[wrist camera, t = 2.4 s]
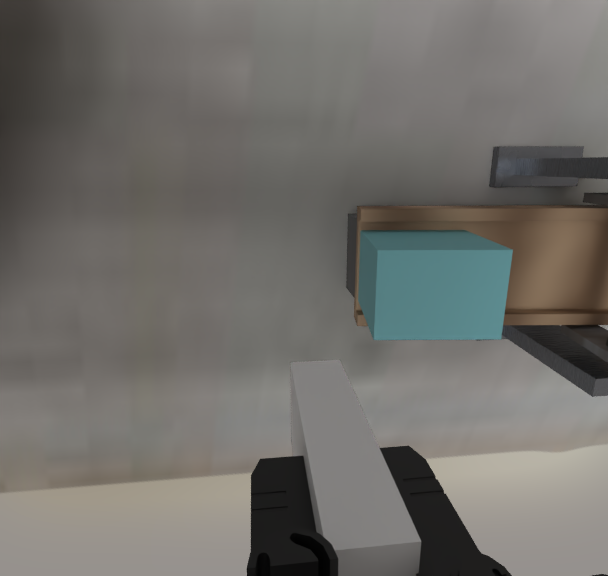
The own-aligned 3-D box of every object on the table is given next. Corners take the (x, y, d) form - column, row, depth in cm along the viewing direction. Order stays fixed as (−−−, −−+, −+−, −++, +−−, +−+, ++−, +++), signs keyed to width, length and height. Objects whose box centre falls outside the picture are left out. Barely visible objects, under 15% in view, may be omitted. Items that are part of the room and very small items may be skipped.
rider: (358, 300, 30) (373, 340, 24) (360, 230, 29) (377, 250, 22) (457, 300, 30) (501, 339, 24) (464, 229, 29) (512, 249, 22)
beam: (346, 310, 37) (365, 371, 26) (350, 183, 34) (372, 192, 23) (719, 308, 37) (890, 368, 26) (754, 181, 34) (964, 190, 23)
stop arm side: (346, 287, 36) (358, 303, 32) (348, 213, 34) (361, 220, 30) (370, 286, 36) (385, 302, 32) (372, 213, 34) (389, 220, 30)
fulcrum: (472, 336, 38) (567, 411, 27) (493, 147, 34) (618, 138, 22) (545, 332, 39) (668, 403, 28) (576, 146, 35) (737, 139, 23)
